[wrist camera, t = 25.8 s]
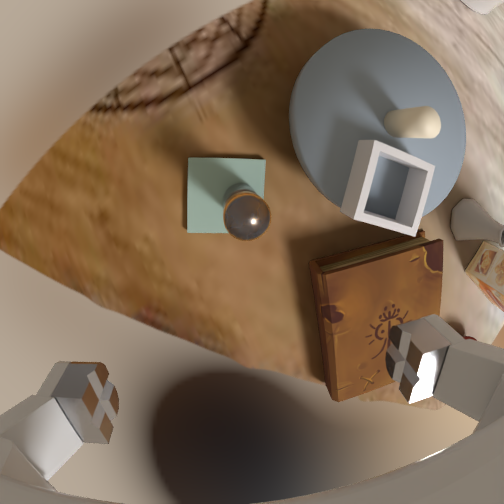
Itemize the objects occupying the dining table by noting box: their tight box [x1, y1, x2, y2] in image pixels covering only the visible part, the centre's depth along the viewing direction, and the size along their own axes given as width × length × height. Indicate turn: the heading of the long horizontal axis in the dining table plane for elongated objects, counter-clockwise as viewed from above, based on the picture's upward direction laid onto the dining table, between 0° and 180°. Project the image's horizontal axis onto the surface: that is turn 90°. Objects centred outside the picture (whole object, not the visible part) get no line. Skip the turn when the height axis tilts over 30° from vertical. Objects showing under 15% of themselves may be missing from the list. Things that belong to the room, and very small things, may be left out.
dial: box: [289, 29, 466, 237], centre depth 27 cm, size 22×22×9 cm
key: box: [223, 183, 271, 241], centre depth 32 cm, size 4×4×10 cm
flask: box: [451, 199, 504, 247], centre depth 37 cm, size 7×7×10 cm
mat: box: [187, 158, 266, 233], centre depth 37 cm, size 9×9×1 cm
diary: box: [309, 231, 443, 402], centre depth 43 cm, size 23×19×6 cm
